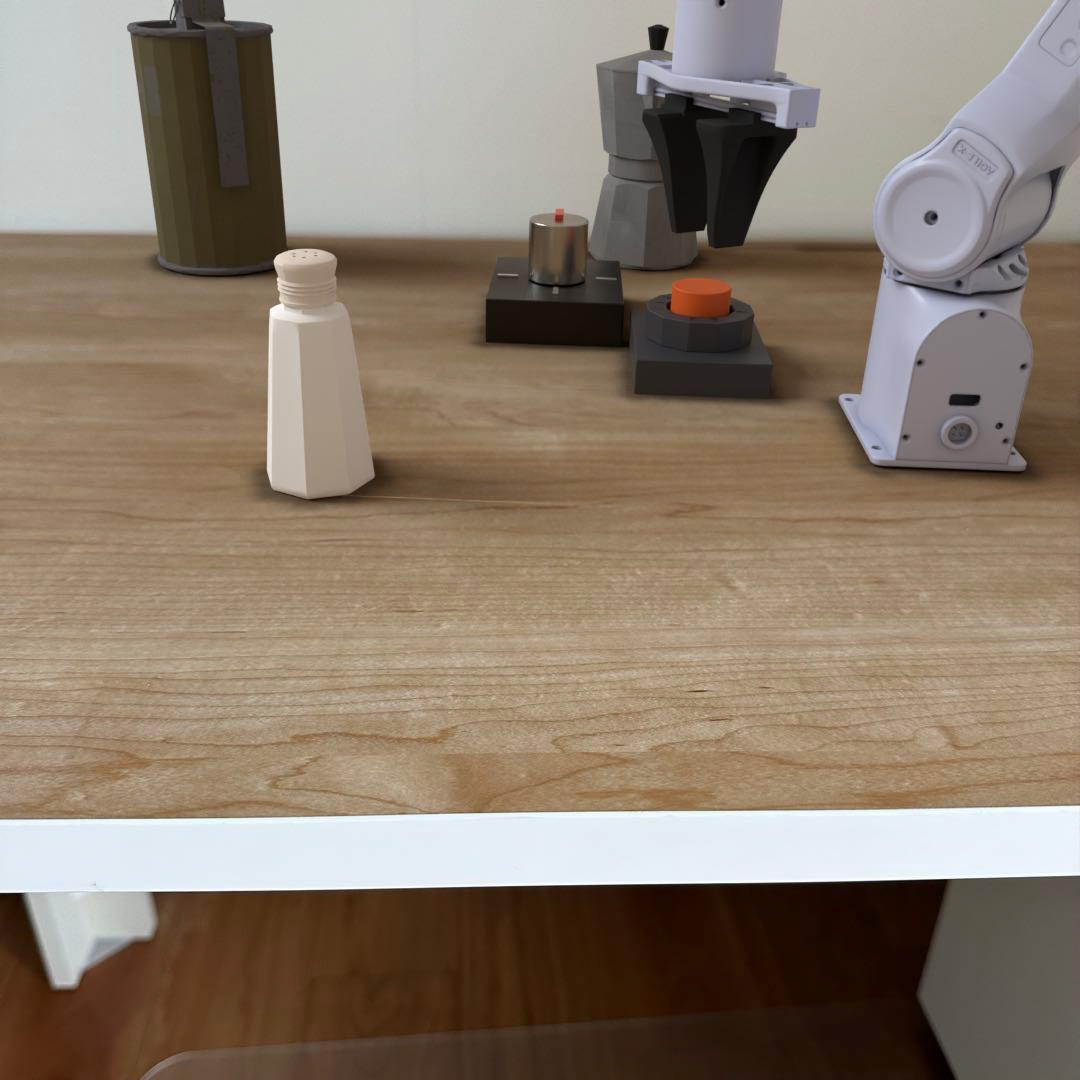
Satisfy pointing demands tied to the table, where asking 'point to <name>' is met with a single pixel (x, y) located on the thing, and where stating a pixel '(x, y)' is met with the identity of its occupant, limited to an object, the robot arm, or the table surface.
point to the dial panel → (555, 307)
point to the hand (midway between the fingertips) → (706, 238)
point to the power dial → (557, 248)
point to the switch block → (698, 353)
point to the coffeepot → (634, 173)
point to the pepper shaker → (314, 384)
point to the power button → (701, 297)
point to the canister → (211, 139)
